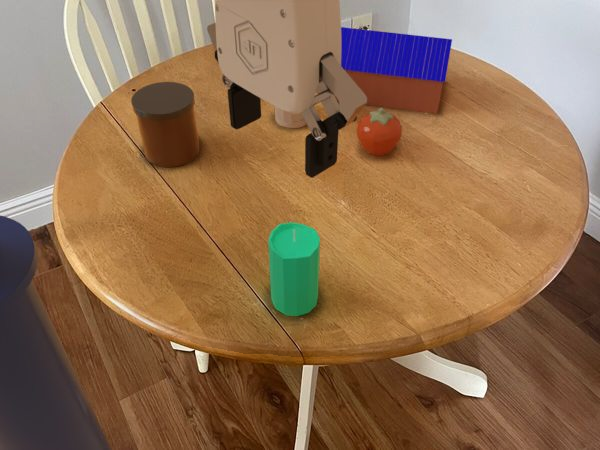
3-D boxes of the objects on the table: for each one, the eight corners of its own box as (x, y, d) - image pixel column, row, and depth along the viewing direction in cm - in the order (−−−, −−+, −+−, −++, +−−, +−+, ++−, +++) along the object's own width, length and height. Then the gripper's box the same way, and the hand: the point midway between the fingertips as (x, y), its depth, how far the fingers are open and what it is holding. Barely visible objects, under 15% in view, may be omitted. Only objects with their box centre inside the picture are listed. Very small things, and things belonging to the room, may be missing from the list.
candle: (262, 293, 75) (257, 225, 67) (300, 273, 78) (300, 205, 69) (288, 324, 72) (287, 256, 63) (327, 302, 74) (331, 234, 66)
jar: (146, 173, 93) (133, 118, 86) (140, 139, 100) (128, 86, 93) (205, 163, 95) (198, 108, 88) (196, 130, 102) (189, 78, 95)
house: (438, 114, 106) (450, 55, 98) (330, 100, 109) (332, 41, 101) (443, 82, 114) (454, 24, 106) (342, 69, 118) (345, 13, 110)
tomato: (389, 133, 101) (394, 93, 96) (406, 158, 96) (412, 117, 91) (348, 140, 100) (351, 99, 94) (363, 166, 95) (367, 124, 89)
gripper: (158, -78, 43) (189, 122, 54) (329, -11, 33) (321, 212, 45) (238, -98, 46) (250, 93, 58) (411, -43, 37) (384, 170, 49)
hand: (281, 145), depth 52 cm, fingers open, 9 cm apart
